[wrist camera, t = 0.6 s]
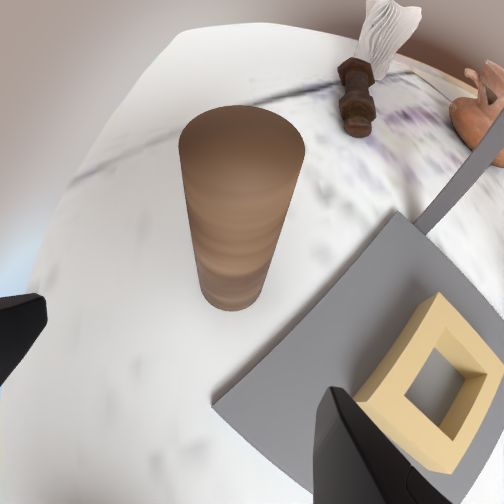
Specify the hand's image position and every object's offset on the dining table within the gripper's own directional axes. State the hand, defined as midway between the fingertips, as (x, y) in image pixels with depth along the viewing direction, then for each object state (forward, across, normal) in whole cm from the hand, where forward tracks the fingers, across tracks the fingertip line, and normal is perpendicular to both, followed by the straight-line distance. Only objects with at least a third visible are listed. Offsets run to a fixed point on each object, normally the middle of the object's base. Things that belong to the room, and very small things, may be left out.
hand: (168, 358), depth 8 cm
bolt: (+35, -9, -16) cm, 39 cm away
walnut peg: (+15, 0, +4) cm, 16 cm away
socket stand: (+13, -19, +6) cm, 24 cm away
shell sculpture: (+44, -12, -26) cm, 53 cm away
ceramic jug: (+39, -33, -20) cm, 55 cm away
